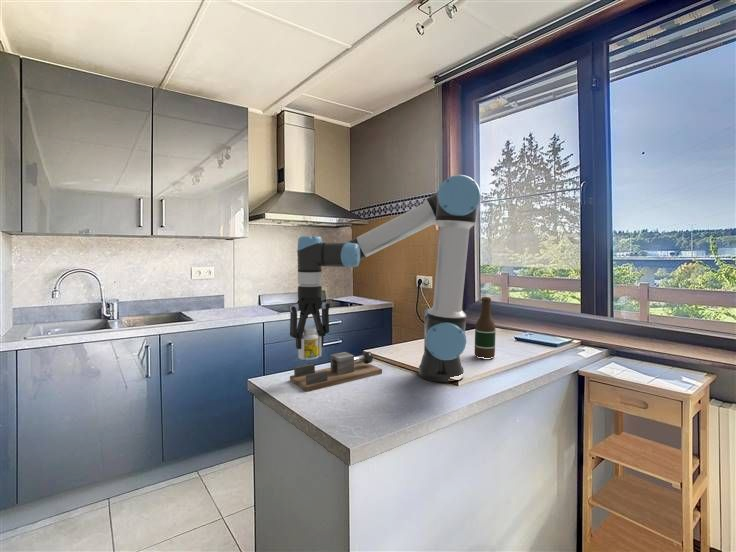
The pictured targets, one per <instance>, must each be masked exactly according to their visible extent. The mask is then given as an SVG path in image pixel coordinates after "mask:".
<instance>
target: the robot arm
mask: <svg viewBox="0 0 736 552" xmlns="http://www.w3.org/2000/svg"><path fill="white" fill-rule="evenodd" d="M480 201H481V189H480V187H479V185H478V183H477V182H476V180H474V179H473V178H472V177H470V176H468V175H465V174H455V175H452V176H448V177H447V178H446V179H445V180H443V181H442V182H441V183H440V185H439V187H438V190H437V192H435V193H434V194H432V195H430V196H429V197H427V198H424V202H423V203H422V204H420V205H418V206H415V207H414V208H412V209H410V210H408V211H406V212H405V213H402V214H401V215H398V216H397V217H394V218H392V219H390V220H388V221H386V222H384V223H383V224H380V225H378V226H377V227H375V228H372V229H370V230H369V231H367V232H364V233H362V234H361V235H358V236H357V237H355V238H353V239H350V240H349V241H346V242H323V240H322V237H321V236H316V235H314V236H312V235H308V236H307V235H306V236H305V235H304V236H303V235H302V236H300V237H299V238H298V239H297V250H296V252H297V284H298V286H297V302H296V304H293V305H289V306H288V310H289V312H290V313H289V314H290V318H289V320H290V322H289V335H290V337H291V338H294V339H295V348H296V349H297V350H298V355H297V356H298V359H300V360H302V361H303V360H305V359H304V339H303V338H302V336H303V334H304V332H303V331H304V328H306V323H307V319H308V317H309V315H311V316H312V318H313V322H314V325H315V328H316V334H317V335H318V347H319V356H318V358H320V357H322V346H323V345H324V343H325V342H324V340H325V339H324V337H325V336H326V334H329V333H330V313H329V309H330V307H331V304H330V303H329V302H323V299H322V297H323V296H322V295H323V290H322V289H323V288H322V287H323V286H322V285H321V284H322V283H323V282H322V281H323V279H322V273H323V271H322V270H323V268H322V267H327V268H328V267H332V268H334V267H335V268H347V269H348V268H356V267H358V266H359V265H360V262H361V261H362V260H363V259H365V258H367V257H369V256H372V255H373V254H375V253H377V252H380V251H382V250H383V249H386V248H387V247H390V246H391V245H393V244H395V243H398V242H400V241H402V240H404V239H406V238H408V237H410V236H412V235H414V234H416V233H418V232H420V231H422V230H424V229H426V228H428V227H430V226H432V225H435V226H438V227H439V234H438V235H439V236H438V245H437V257H436V258H437V259H436V270H435V281H434V291H433V293H434V294H433V300H432V301H433V302H432V307H431V308H427V309H425V310H424V316H423V319H424V338H423V339H424V340H423V344H424V345H423V350H424V351H423V355H422V358H421V360H420V364H419V366H418V375H419V377H420V378H422V379H424V380H426V381H431V382H437V383H449V382H448V378H450V377H454V376H459V375H461V374H463V373H465V372H464V368H463V365H462V361H461V358H460V356H461V355H462V354H463V352H464V351H465V349H466V346H467V336H466V334H465V333H466V326H467V325H466V324H467V323H466V322H467V314H466V313H465V312H464V310H463V300H464V291H465V290H464V289H465V281H466V280H465V279H466V271H467V258H468V247H469V237H470V230H471V228H473V226H475V225H476V221H477V220H476V219H477V210H478V206H479V204H480ZM320 309H321V313H320ZM299 310H300V313H299V320H298V311H299Z"/></svg>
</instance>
